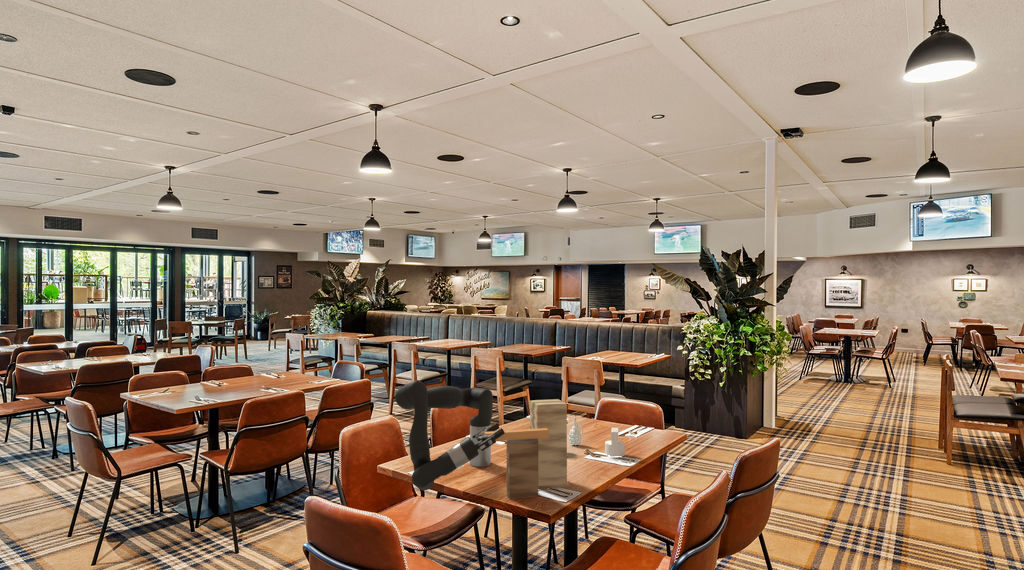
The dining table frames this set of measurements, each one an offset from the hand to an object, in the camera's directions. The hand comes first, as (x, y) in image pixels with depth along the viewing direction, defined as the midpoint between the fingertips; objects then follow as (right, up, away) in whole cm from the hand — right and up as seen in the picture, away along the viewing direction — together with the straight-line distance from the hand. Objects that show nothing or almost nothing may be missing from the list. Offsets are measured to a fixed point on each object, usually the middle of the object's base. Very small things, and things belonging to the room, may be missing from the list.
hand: (500, 427), depth 204 cm
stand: (+18, -26, +15) cm, 35 cm away
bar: (+6, -5, +1) cm, 8 cm away
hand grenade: (+36, -27, +71) cm, 84 cm away
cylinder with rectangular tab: (+52, -27, +54) cm, 79 cm away
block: (+8, -26, +1) cm, 27 cm away
